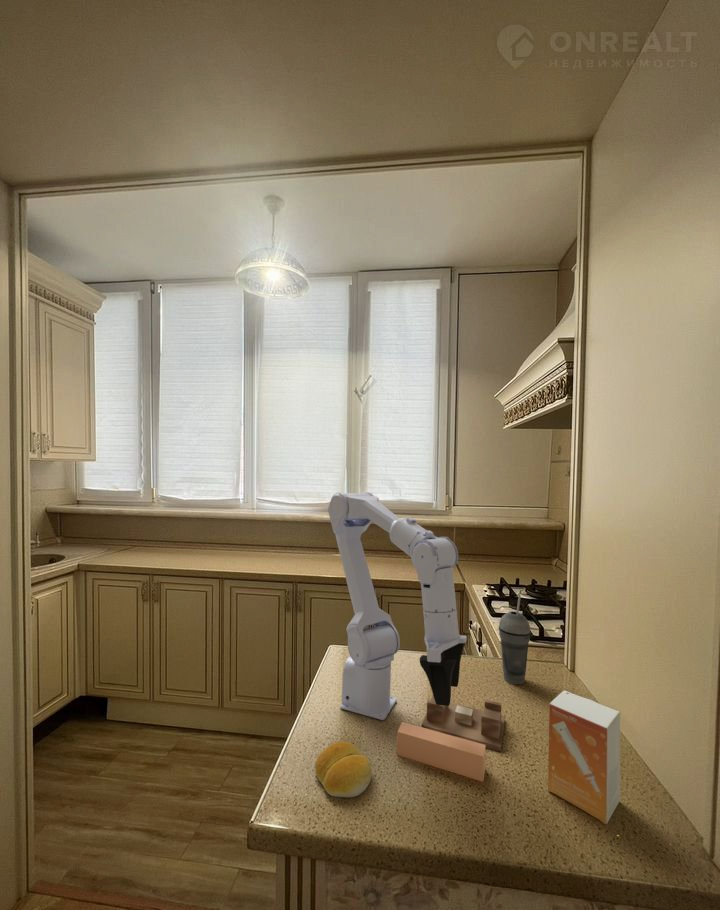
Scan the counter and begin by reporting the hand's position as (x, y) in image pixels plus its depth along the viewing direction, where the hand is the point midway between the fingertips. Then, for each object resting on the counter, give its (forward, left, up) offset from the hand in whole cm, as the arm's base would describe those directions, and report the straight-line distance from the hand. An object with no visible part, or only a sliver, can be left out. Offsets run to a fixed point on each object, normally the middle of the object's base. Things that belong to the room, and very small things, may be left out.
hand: (447, 694), depth 67 cm
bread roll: (-14, -11, -11) cm, 21 cm away
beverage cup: (+9, +34, -11) cm, 37 cm away
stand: (+1, +11, -11) cm, 16 cm away
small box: (+20, +1, -11) cm, 23 cm away
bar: (-1, -1, -11) cm, 11 cm away
